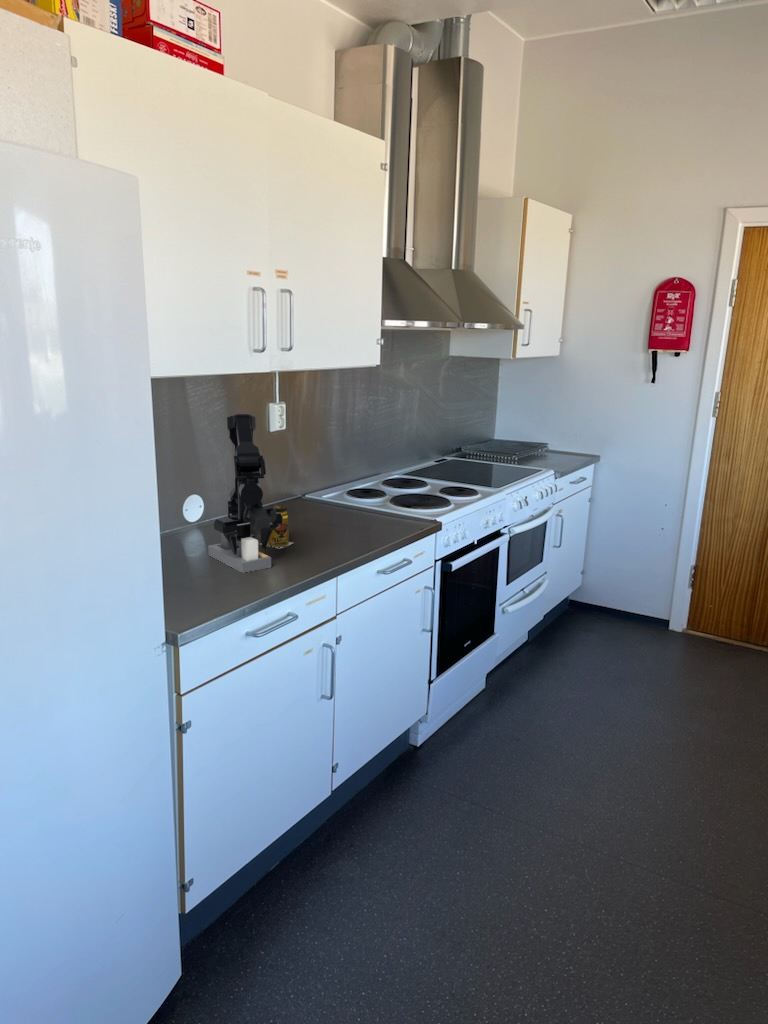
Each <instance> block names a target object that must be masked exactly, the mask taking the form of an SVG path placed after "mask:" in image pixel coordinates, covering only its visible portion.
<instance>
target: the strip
mask: <svg viewBox="0 0 768 1024" xmlns="http://www.w3.org/2000/svg"><path fill="white" fill-rule="evenodd" d="M207 548H208V556H209V557H210V556H211V558H212V557H213V559H214V558H215V559H214V560H216V559H217V560H216V561H218V560H219V561H218V562H220V561H221V562H220V563H222V562H223V563H222V564H224V563H225V564H224V565H226V566H228V567H229V566H230V568H231V567H232V569H233V568H234V570H235V571H236V572H239V573H241V572H242V573H241V574H246V573H245V572H248V573H251V572H250V571H252V572H256V571H255V570H257V571H260V570H261V569H262V570H266V568H267V569H270V568H272V556H269V555H267V554H265V553H263V552H261V551H259V550H258V559H254V560H249V561H247V560H245V559H243V558H242V549H241V541H240V542H239V540H237V553H236V554H233V552H232V550H231V549H230V550H225V549H222V548H221V542H220V543H215V544H210V545H208V546H207ZM262 570H261V571H262Z"/></svg>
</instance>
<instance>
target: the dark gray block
mask: <svg viewBox="0 0 768 1024" xmlns="http://www.w3.org/2000/svg"><path fill="white" fill-rule="evenodd" d="M235 531H236V530H235ZM237 541H238V540H237V536H236V545H237ZM220 543H221V548H222V549H225V550H230V549H231V548H230V545H229V543H228V541H227V539H226V538H225V536H224V534H223V533H221V532H220Z"/></svg>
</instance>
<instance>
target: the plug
mask: <svg viewBox="0 0 768 1024" xmlns="http://www.w3.org/2000/svg"><path fill="white" fill-rule="evenodd" d="M240 543H241V549H242V558H243V559H245V560H247V561H249V560H254V559H258V551H259V540H258V539H256V538H255V537H253V538H252V537H248V538H242V539H241V540H240Z"/></svg>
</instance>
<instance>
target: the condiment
mask: <svg viewBox="0 0 768 1024" xmlns="http://www.w3.org/2000/svg"><path fill="white" fill-rule="evenodd" d="M269 508H274V509H275V510H276V512H278V513H280V514H281V515H282V516H283V523H282V524H278V525H279V526H278V527H276V528H275V529H274V530H273V531H272V533H271V535H270V538H269V540H268V543H267V546H266V547H270V546H272V547H270V548H274V547H275V549H279V550H280V549H283V548H286V547H289V546H291V545H292V544H294V542H292V541H289V516H288V509H287V508H288V507H286V506H285V505H279V504H278V505H271V506H270V507H269ZM259 545H261V546H262V542H261V543H259ZM268 545H269V546H268ZM284 546H285V547H284ZM278 547H280V548H278Z"/></svg>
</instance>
